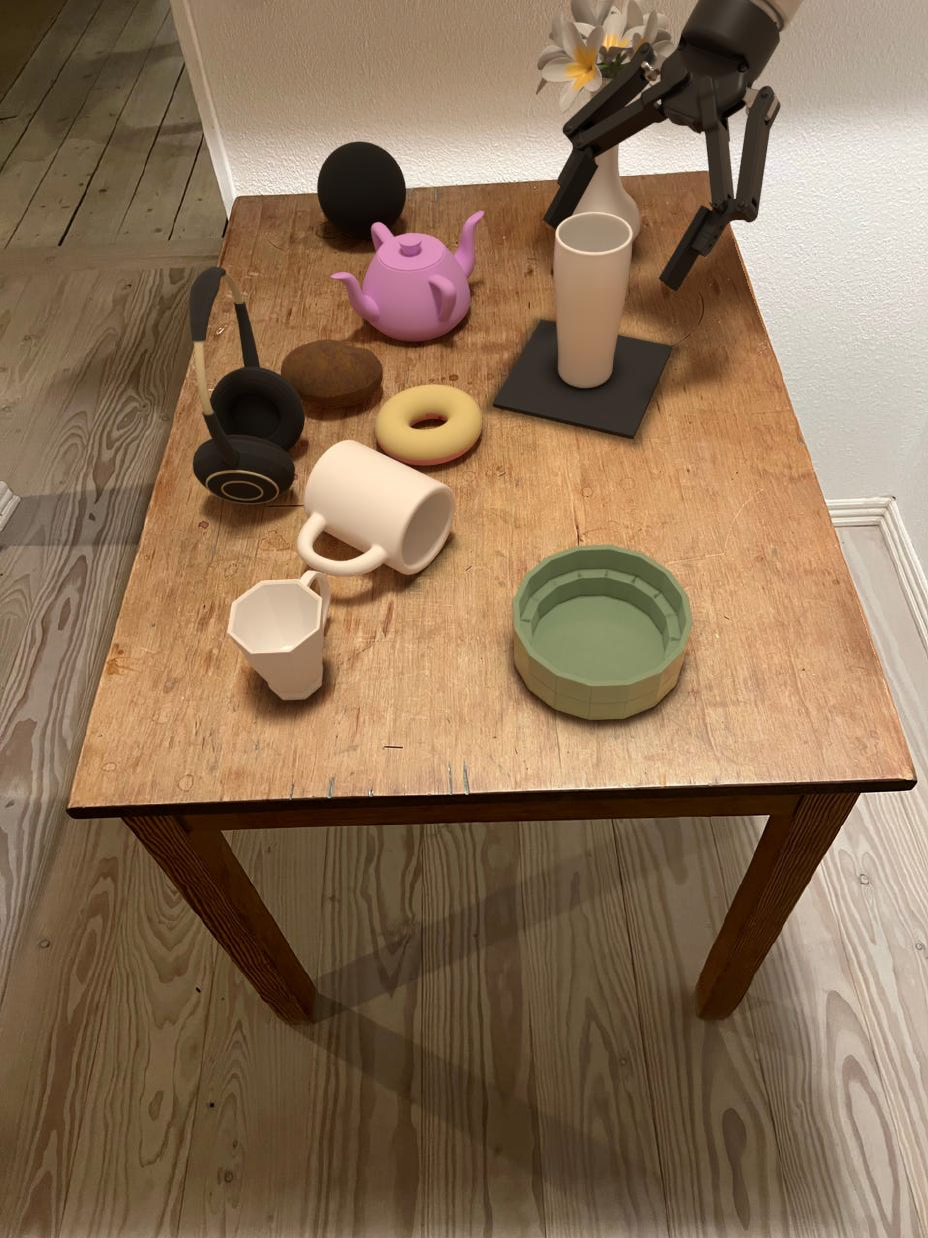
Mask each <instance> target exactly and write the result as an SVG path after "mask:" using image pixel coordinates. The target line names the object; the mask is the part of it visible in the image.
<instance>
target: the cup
mask: <svg viewBox="0 0 928 1238" xmlns="http://www.w3.org/2000/svg"><path fill="white" fill-rule="evenodd" d="M315 579H316V581H317V584H318V586H319V593H320V594H318V593H316V592H315V591H314V590H312V589H311V585H312V583H313V581H314V580H315ZM331 592H332V591H331V586H330V583H329V579H327V577H326V574H325V573H322V572H320V571H317V570H307V571H306V572H304V573H303V574H302V576H300V578H290V579H269V580H267V579H266V580H260V581H258V582H257V583H256V584H255V585H253V586H252V587H250V588H249V589H248V590H247V591H246V592H244V593H242V594H241V595H240V596H238V597H237V598H236V599H235V600H233V601H231V607H230V613H229V619H228V625H227V631H226V633H227V634H228V636H229V637H230V639H231V640H232V642H233V643H234V644H235V645H236V647H237V648H238V650H239V651H240V652H241V653H242V655H243V656H244V658H245V659H246V661H247V662H248V663H249V665H250V666H251V667H252V669H253V670H255V672H256V673H257V674H258V675H260V677H261V678H262V679H263V680H264V681H266V682H267V685H268V688H269V689H270V690H271V691H272V692H273V693H274V694H275V695H277V696H278V697H279V698H280V699H281V700H282V701H295V700H306V699H308V698H309V697H310V696H311V695H312V694H313V693H315V692H316V691H317V690H319V688H321V687H322V686H323V675H324V665H323V654H324V646H325V645H324V644H325V635H324V630H325V627H326V624H327V621H328V619H327V618H328V616H329V612H330V606H331V600H332V595H331V594H332V593H331Z"/></svg>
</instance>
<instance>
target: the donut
mask: <svg viewBox="0 0 928 1238" xmlns="http://www.w3.org/2000/svg"><path fill="white" fill-rule="evenodd" d="M427 420H441V421H444V422H445V423H444V424H442V425H440V426H437V427H434V428H429V429H418V428H413V427H412V426H414V425H415V424H417V423H419V422H422V421H427ZM483 423H484V420H483V414H482V411H481V408H480V406H479V404H478V403H477V401H476V400H475V399H474V398H473V397H472V396H471V395H470V394H468V393H467V392H465V391H463V390H462V389H459V388H457V387H454V386H450V385H447V384H435V383H434V384H433V383H432V384H422V385H416V386H412V387H409V388H407V389H404V390H402V391H399V392H398V393H396V394H394V395H393V396H391V397H390V398H389V399H387V400H386V401H385V403H384V404H383V405H382V406H381V408H380V409H379V411H378V412H377V415H376V418H375V420H374V434H375V439H376V441H377V444H378V445H379V447H380V448H381V449H382V450H383V451H384V452H385V454H387V455H388V456H389V457H390V458H392V459H394V460H396V461H398V462H400V463H403V464H408V465H412V466H413V465H414V466H435V465H440V464H444V463H447V462H451V461H453V460H455V459H458V458H459V457H461V456H462V455H464V454H465V453H467V452H468V451H469V450H471V448H473V446H474V445H475V444H476V443H477V441H478V439H479V438H480V435H481V433H482V430H483Z"/></svg>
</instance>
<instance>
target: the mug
mask: <svg viewBox="0 0 928 1238" xmlns="http://www.w3.org/2000/svg"><path fill="white" fill-rule="evenodd" d="M306 482H307V483H306V485H305V488H304V493H303V510H304V512H305V516H306V518H307V520H306V521H305V523H304V524H303V526H302V527H301V529H300V531H299V533H298V536H297V539H296V550H297V554H298V556H299V557H300V558H301V560H302V561H303V562H304V563H305V564H306V565H307V566H309V567H310V568H311V569H314V571H317V572H320V573H323V574H324V575H328V576H331V577H332V576H333V577H339V578H341V577H342V578H352V577H357V576H362V575H365V574H368V573H370V572H372V571H374V570H375V569H377V568H379V567H381V566H382V565H383V564H384V565H386V566H388V567H389V568H392V569H393V570H395V571H397V572H399V573H401V574H403V575H409V576H410V575H415V574H418V573H420V572H421V571H422V570H424V569H425V568H427V566H429V565H430V564H431V563H432V562H433V560H434V559H436V557H437V555H438V554H439V553H440V552H441V550H442V548H443V547H444V545H445V543H446V541H447V539H448V537H449V535H450V533H451V531H452V527H453V523H454V520H455V515H456V507H457V505H456V504H457V503H456V497H455V494H454V491H453V489H452V487H450V486H448V485H447V484H445V483H443V482H442V481H439V480H437V479H436V478H433V477H431V476H429V475H426V474H425V473H422V472H421V471H419V470H416V469H414V468H412V467H410V466H409V465H406V464H405V463H403V462H401V461H398V460H396V459H394V458H393V457H391V456H387V455H385V454H384V453H381V452H380V451H377V450H375V449H373V448H371V447H369V446H367V445H364V444H362V443H360V442H358V441H357V440H353V439H345V440H341V441H339V442H337V443H334V444H333V445H332V446H330V447H329V448H327V450H326V451H325V452H324V453H323V454H322V455H321V456H320V458H319V459H318V460H317V462H316V463H315V464H314V466H313V468H312V470H311V472H310V474H309V476H308V478H307V481H306ZM322 532H326V533H327V534H329V535H330V536H333V537H334V538H337V539H338V540H339V541H341V542H344V543H345V544H347V545H348V546H351V547H353V548H355V549H357V550H358V551H359V552H362V553H363V554H361V555H359V556H356V557H355V558H352V559H347V560H332V559H330V558H326V557H323V556H321V555H320V554H318V553H316V551H314V548H313V546H314V543H315V542H316V539H317V538H318V537H319V535H320V534H321V533H322Z"/></svg>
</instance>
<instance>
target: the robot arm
mask: <svg viewBox="0 0 928 1238" xmlns="http://www.w3.org/2000/svg"><path fill="white" fill-rule="evenodd" d="M803 1H804V0H697V2H696V4H695V6H694V7H693V10H692V11H691V13H690V15H689V17H688V18H687V21H686V22H685V24H684V26H683V28H682V29H681V33H680V37H679V41H678V44H677V45H676V47H675V51H674V52H673V53H672V54H671V55H670V56H669V57H667V58H666V57H665V56H663V55H661V54H659V53H657V52H656V51H655V50H654V48H653V47H652V46H651V44H650V43H648V42H645V43H643V44H641V46H640V47H639V48H638V50H637V51H636V53H635V55H634V56H633V58H632V59H631V61H630V60H629V61H628V62H629V64H628V65H627V66H626V67H625V68H624V69H623V70H622V71H621V72H620V73H619V74H618V75H617V76H616V77H615V78H613V79H612V80H611V81H610V82H609V83H608V84H607V85H606V86H605V87H604V88H603V89H602V90H601V91H600V92H598V93H597V94H596V95H595V96H594V97H593V98H592V99H591V100H590V99H589V101H587V102H586V103H585V104H584V105H583V106H582V107H581V108H580V109H579V110H578V111H577V112H576V113H574V115H572V116H571V117H570V118H569V119H568V120H567V121H566V122H565V123H564V124H563V126H562V134H563V135H564V136H565V137H566V138H567V140H568V141H569V142H570V143H571V145H572V149H571V152H570V154H569V156H568V158H567V160H566V162H565V164H564V165H563V167H562V168H561V171H560V172H559V175H558V176H557V179H556V180H557V181H556V184H557V186H559V187H558V189H557V191H556V193H555V196H554V197H553V199H552V201H551V203H550V205H549V206H548V207H547V210H546V212H545V214H544V215H543V217H542V221H543V222H545V224H547V225H549V227H551V228H552V229H553V230H555V231H556V229H557V227H558V226H559V224H560V223H561V222H562V221H564V220H565V219H567V218H569V217H571V216H572V214H573V213H574V211H575V209H576V207H577V205H578V203H579V202H580V200H581V198H582V196H583V194H584V192H585V191H586V189H587V187H588V185H589V183H590V181H591V179H592V178H593V176H594V174H595V172H596V170H597V168H598V167H599V166H598V165H597V164H596V161H595V158H596V157H597V156H599V155H601V154H602V153H604V152H606V151H607V150H609V149H611V148H613V147H614V146H616V145H618V144H619V145H620V144H621V143H622V142H624V141H626V140H628V139H630V138H631V137H633V136H634V135H636V134H638V133H640V132H641V131H643V130H644V129H646V128H648V127H649V126H651V125H653V124H660V123H661V124H662V123H663V122H665V121H666V120H669V121H670V122H671V123H672V124H673V125H676V126H679V127H680V126H681V127H688V128H689V129H690V130H691V131H692V132H693V133H696V134H699V135H701V134H702V133H703V134H704V135H705V136H704V137H705V147H706V155H707V157H706V158H707V167H708V176H709V177H708V179H709V187H710V197H711V201H710V202H709V206H710V207H711V209H710V208H709V207H707V206H704V205H703V204H701V205H700V207H699V208H698V210H697V212H696V213H695V215H694V217H693V219H692V220H691V221H690V224H689V225H688V227H687V229H686V231H685V232H684V234H683V236H682V237H681V239H680V241H679V242H678V244H677V246H676V247H675V249H674V251H673V253H672V254H671V256H670V257H669V260H668V262H667V263H666V265H665V267H664V268H663V270H662V272H661V273H660V275H659V276H658V280H659V281H660V282H662V284H664V285H665V286H666V287H668V288H669V289H670V290H672V291H673V292H675V293H678V291H680V288H681V287H682V286H683V283H684V282H685V279H687V276H688V274H689V273H690V271H691V269H692V268H693V266H694V265H695V263H696V261H697V259H698V258H699V256H702V257H704V258H706V257H707V256H709V255H710V254H711V252H712V251H713V249H714V247H715V246H716V244H717V242H718V241H719V240H720V237H721V236H722V235H723V233H724V231H725V229H726V228H727V226H728V225H729V224H730V223H731V222H733V221H734V222H735V221H744V222H745V223H749V224H750V223H753V222H754V221H756V220H757V218H758V216H759V210H760V204H761V195H762V190H763V182H764V175H765V167H766V160H767V154H768V147H769V139H770V132H771V130H772V127H773V125H774V122H775V120H776V118H777V116H778V114H779V113H780V109H781V106H782V105H781V102H780V101H779V99H778V97H777V94H776V93H775V92H774V89H773V88H772V86H770V85H764V86H762V87H761V88H760V89H757V88H753V85H754V83H755V82H756V81H757V80H758V79H759V78H760V77H761V75H762V73H763V72H764V70H765V69H766V67H767V65H768V64H769V61H770V60H771V58H772V56H773V55H774V52H775V51H776V49H777V48H778V45H779V44H780V42H781V36H780V34H781V33H782V32H784V31H786V30H787V29H788V28H789V25H790V23H792V21H793V19H794V17H795V16H796V14H797V12H798V10H799V8H800V7H801V5H802V3H803ZM658 75H660V81H659V82H658V83H656V84H654V85H653V86H650V87H649V88H648V89H646V90H645V91H643V90H644V89H645V87H646V86H647V85H648V84H649V82H650V81H653V82H654V81H656V80H657V76H658ZM642 91H643V92H642ZM641 92H642V93H641ZM638 95H640V96H639V97H638V98H637V99H635V98H636V97H637V96H638ZM634 99H635V100H634ZM633 100H634V101H633ZM659 101H660V103H659ZM743 109H745V115H746V116H747V117H746V120H745V121H746V122H745V129H744V135H743V143H742V149H741V157H740V164H739V170H738V179H737V185H736V192H735V190H734V181H733V172H732V161H731V151H730V142H731V134H730V126H729V124H730V123H729V118H730V117H732V116H733V115H735V114H736V113H738V112H739V111H741V110H743Z"/></svg>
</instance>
